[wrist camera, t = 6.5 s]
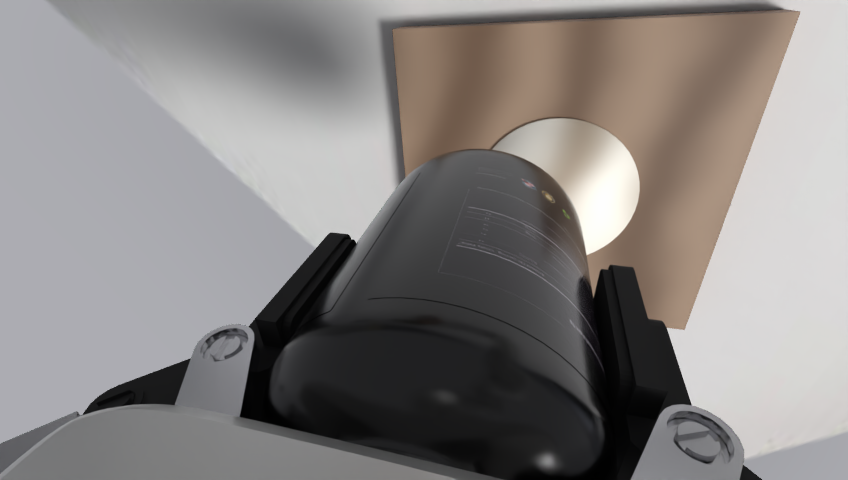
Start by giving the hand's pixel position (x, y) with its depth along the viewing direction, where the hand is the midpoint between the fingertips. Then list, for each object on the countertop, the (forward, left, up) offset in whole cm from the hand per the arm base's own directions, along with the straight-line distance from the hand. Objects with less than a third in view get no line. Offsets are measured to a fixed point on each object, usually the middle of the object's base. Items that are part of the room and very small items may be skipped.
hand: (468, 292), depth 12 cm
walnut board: (-3, +4, -18) cm, 18 cm away
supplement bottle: (0, 0, -4) cm, 4 cm away
